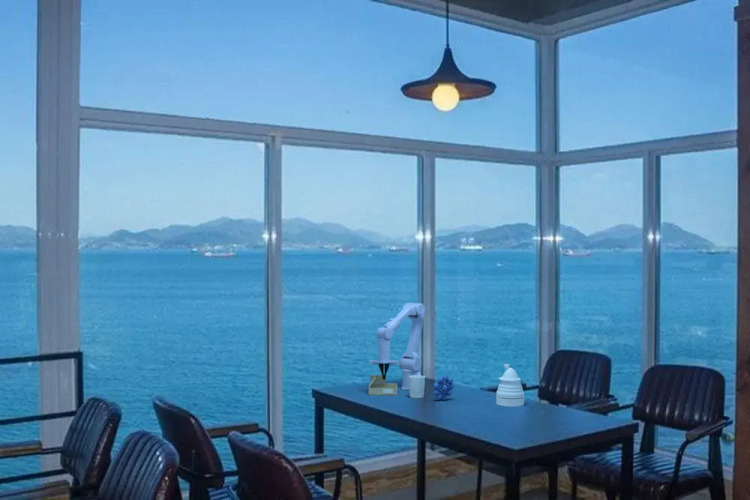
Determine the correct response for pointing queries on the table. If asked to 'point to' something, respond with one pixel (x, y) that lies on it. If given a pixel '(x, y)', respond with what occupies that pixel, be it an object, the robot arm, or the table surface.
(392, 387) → the carton
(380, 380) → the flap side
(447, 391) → the grapes
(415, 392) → the white cup
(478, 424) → the table surface
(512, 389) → the honey pot
